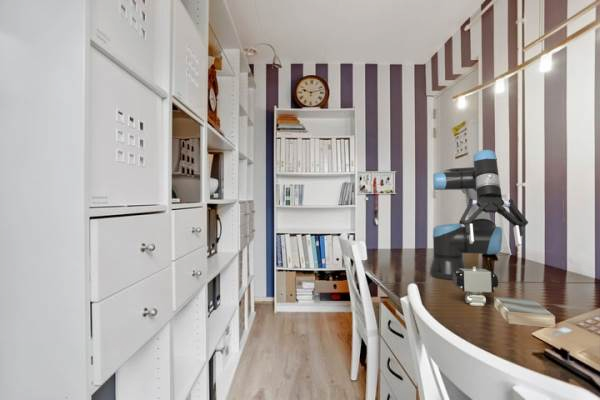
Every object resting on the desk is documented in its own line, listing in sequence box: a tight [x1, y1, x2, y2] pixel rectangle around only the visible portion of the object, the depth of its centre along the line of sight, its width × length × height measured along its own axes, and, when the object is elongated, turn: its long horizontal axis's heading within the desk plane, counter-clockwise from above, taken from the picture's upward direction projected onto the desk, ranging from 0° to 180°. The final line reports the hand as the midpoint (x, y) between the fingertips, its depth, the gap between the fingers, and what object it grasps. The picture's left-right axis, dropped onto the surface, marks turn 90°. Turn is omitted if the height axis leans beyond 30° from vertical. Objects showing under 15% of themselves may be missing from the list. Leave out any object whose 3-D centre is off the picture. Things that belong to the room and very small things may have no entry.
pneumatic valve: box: [452, 266, 499, 307], centre depth 94 cm, size 6×12×12 cm, turn 78°
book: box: [493, 296, 556, 328], centre depth 83 cm, size 14×10×3 cm
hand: (494, 244), depth 100 cm, fingers open, 13 cm apart
